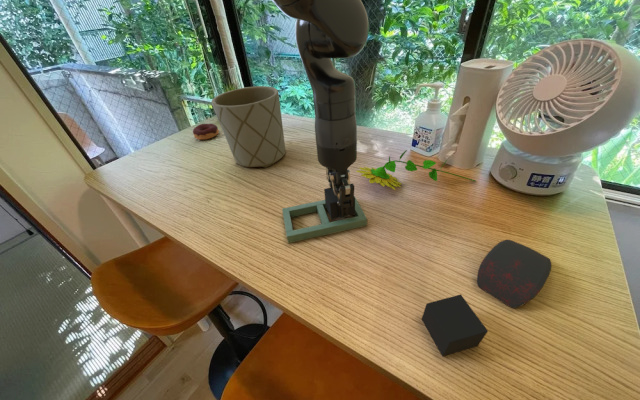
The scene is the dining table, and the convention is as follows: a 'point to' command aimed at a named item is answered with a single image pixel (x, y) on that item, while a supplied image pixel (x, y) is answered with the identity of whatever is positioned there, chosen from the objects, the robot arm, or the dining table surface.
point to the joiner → (325, 225)
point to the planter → (252, 124)
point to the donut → (205, 131)
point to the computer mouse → (513, 273)
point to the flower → (387, 179)
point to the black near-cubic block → (335, 203)
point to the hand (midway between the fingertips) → (339, 207)
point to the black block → (453, 325)
